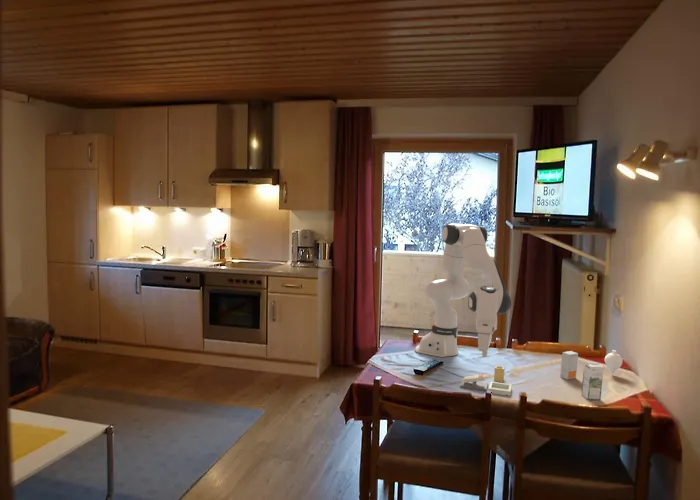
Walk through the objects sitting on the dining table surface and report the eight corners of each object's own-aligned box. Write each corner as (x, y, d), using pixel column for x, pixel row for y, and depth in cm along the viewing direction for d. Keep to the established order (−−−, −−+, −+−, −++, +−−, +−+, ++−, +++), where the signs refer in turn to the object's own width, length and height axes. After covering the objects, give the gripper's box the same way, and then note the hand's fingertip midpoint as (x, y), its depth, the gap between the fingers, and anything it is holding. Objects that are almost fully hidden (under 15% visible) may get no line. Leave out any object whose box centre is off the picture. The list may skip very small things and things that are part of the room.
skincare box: (567, 380, 251) (569, 354, 250) (559, 377, 255) (561, 352, 254) (576, 378, 254) (578, 353, 253) (569, 375, 258) (571, 350, 257)
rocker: (464, 382, 239) (463, 379, 239) (465, 379, 242) (464, 376, 242) (484, 380, 235) (484, 376, 235) (485, 377, 239) (485, 373, 239)
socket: (488, 392, 232) (488, 388, 232) (490, 385, 240) (490, 381, 240) (510, 396, 229) (510, 391, 229) (511, 388, 238) (511, 384, 237)
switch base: (460, 387, 237) (460, 382, 237) (462, 381, 245) (462, 376, 245) (486, 391, 234) (486, 386, 233) (487, 385, 241) (488, 380, 241)
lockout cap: (493, 380, 247) (494, 367, 246) (494, 378, 251) (495, 364, 250) (503, 382, 246) (503, 368, 245) (503, 379, 250) (504, 365, 249)
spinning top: (606, 371, 266) (609, 347, 264) (623, 375, 260) (625, 350, 259) (600, 374, 260) (602, 350, 259) (617, 379, 255) (619, 353, 254)
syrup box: (594, 395, 233) (597, 362, 232) (601, 400, 228) (604, 366, 226) (581, 394, 233) (583, 361, 232) (587, 400, 227) (590, 366, 226)
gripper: (481, 318, 246) (479, 348, 247) (476, 329, 227) (474, 361, 228) (495, 320, 244) (494, 350, 245) (491, 330, 225) (490, 363, 226)
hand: (484, 356), depth 236 cm, fingers closed
